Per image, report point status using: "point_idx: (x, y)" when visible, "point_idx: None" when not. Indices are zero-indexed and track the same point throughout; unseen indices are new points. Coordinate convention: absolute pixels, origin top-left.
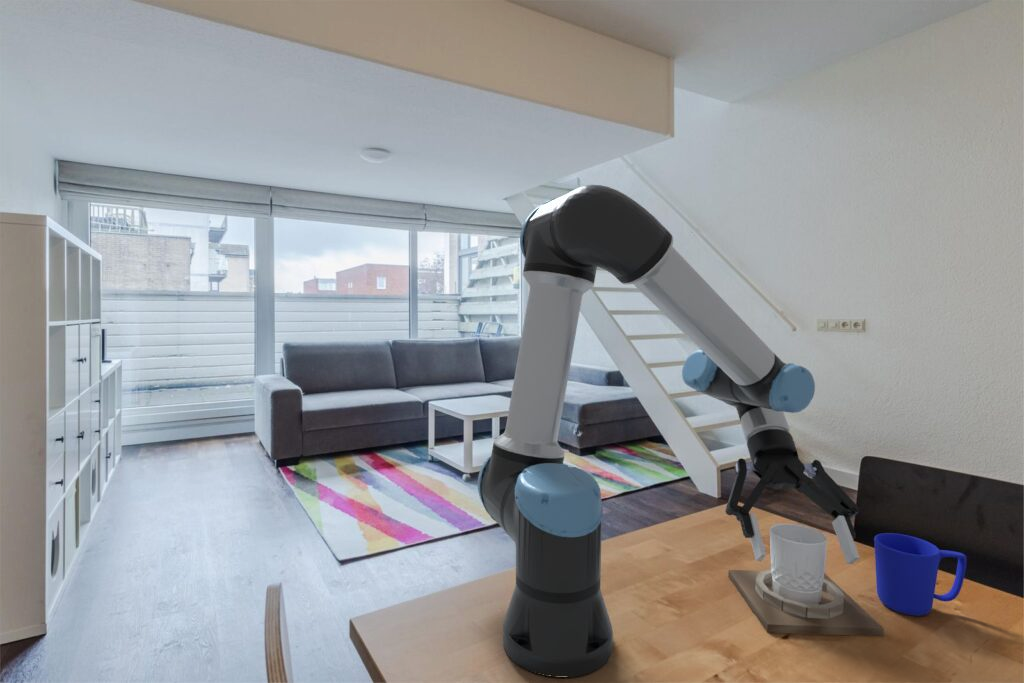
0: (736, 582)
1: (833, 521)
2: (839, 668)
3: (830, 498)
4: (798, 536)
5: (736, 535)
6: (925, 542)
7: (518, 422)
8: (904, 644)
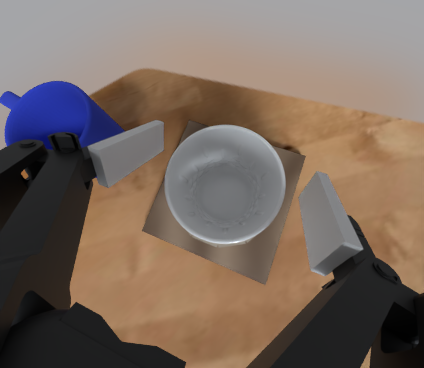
0: (275, 251)
1: (107, 180)
2: (272, 99)
3: (42, 181)
4: (188, 216)
5: None
6: (11, 121)
7: None
8: (183, 112)
